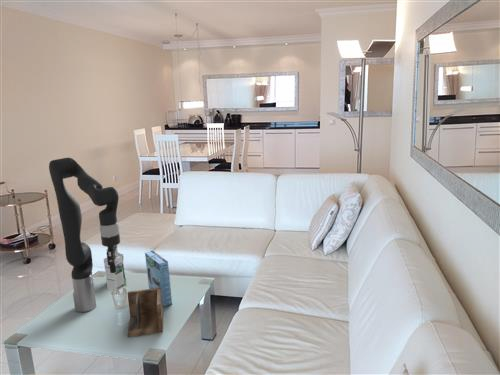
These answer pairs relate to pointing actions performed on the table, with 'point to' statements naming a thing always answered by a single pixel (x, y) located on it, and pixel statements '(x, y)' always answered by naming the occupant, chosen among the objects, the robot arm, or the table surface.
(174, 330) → the table surface
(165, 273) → the gum box
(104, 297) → the table surface
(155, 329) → the bookshelf
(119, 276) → the syrup box
